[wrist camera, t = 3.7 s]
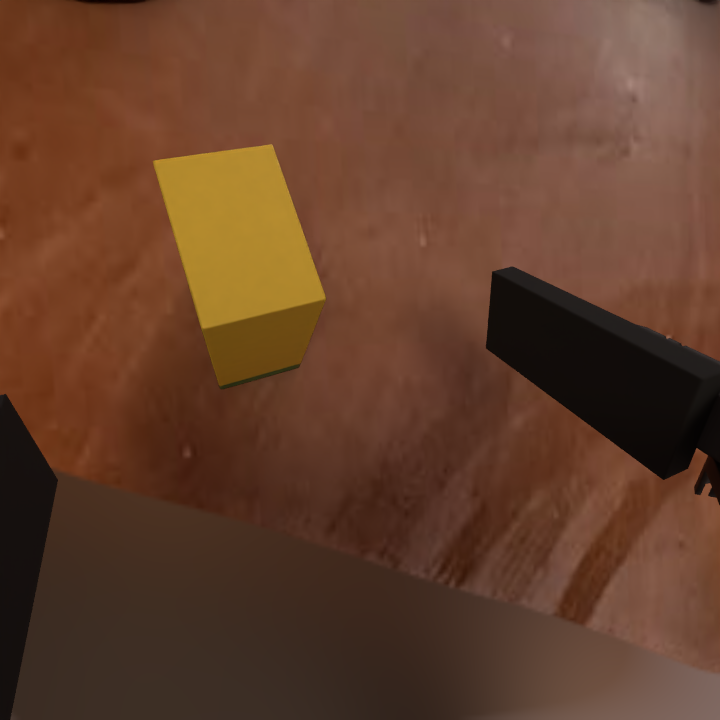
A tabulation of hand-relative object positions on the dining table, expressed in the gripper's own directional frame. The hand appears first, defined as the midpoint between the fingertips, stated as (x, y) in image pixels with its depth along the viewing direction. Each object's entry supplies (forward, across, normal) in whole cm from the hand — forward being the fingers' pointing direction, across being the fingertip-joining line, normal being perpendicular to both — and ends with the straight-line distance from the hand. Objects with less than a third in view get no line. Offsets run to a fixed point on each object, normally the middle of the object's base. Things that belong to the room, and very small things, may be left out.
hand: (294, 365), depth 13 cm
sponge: (+11, 0, -4) cm, 11 cm away
